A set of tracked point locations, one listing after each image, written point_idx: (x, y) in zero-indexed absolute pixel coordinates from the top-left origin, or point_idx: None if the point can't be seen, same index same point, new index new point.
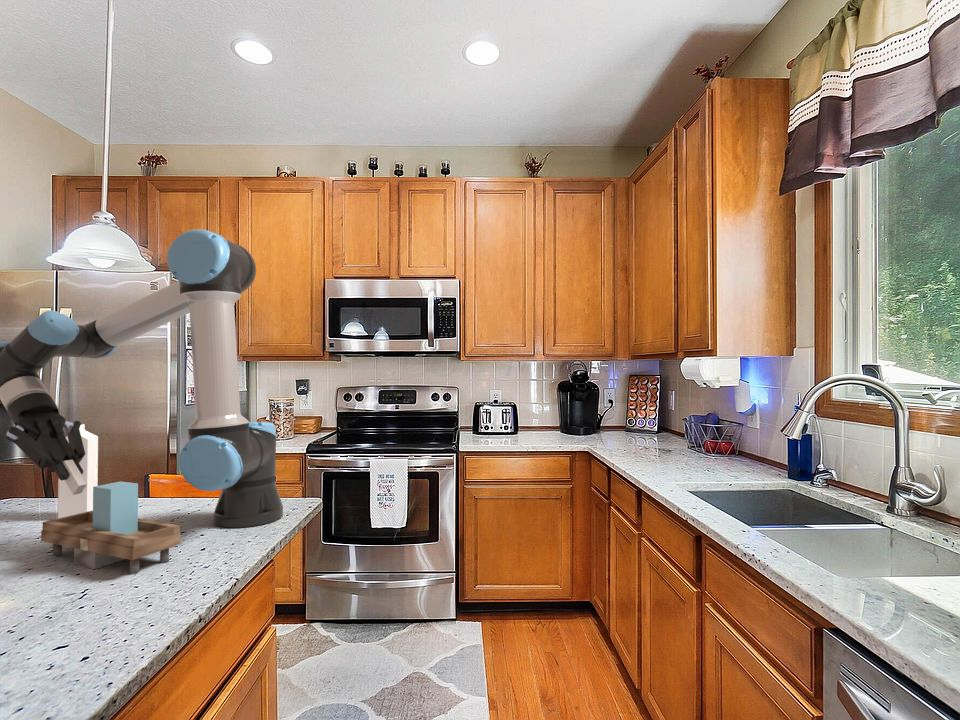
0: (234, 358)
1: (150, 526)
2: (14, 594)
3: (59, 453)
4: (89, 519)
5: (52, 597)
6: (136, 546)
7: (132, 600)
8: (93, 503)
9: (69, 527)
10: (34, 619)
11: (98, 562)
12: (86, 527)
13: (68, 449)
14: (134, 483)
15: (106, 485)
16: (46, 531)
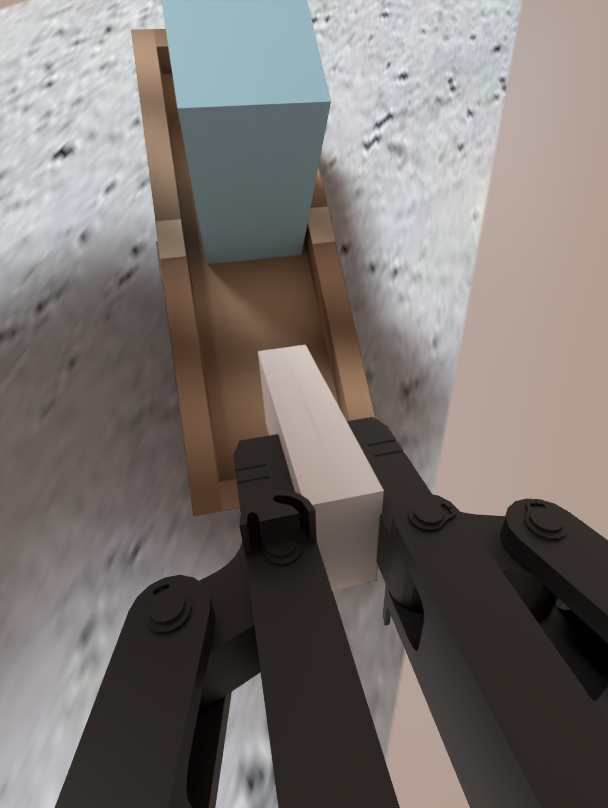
0: None
1: (169, 133)
2: (468, 242)
3: (434, 599)
4: (219, 473)
5: (423, 162)
6: None
7: (335, 30)
8: (316, 168)
9: (350, 311)
10: (470, 95)
11: None
12: (316, 258)
13: (321, 679)
14: (169, 2)
15: (277, 73)
16: None
